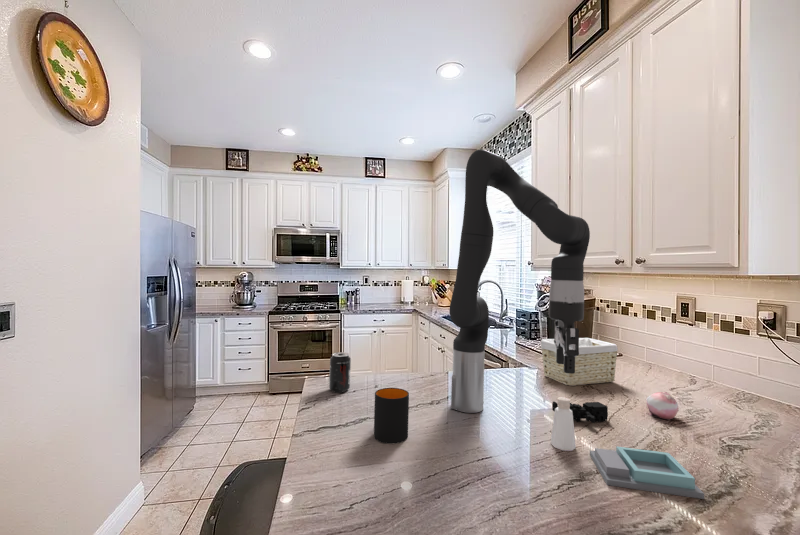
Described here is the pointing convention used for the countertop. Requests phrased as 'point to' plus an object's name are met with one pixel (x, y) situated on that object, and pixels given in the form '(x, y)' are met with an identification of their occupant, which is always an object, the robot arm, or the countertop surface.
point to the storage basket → (582, 362)
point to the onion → (662, 405)
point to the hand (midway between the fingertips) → (565, 368)
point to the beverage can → (340, 372)
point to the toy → (587, 411)
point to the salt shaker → (563, 426)
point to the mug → (391, 415)
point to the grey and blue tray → (645, 471)
